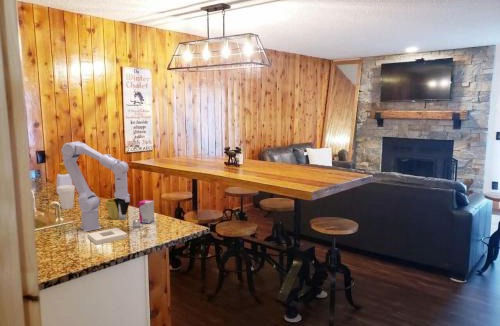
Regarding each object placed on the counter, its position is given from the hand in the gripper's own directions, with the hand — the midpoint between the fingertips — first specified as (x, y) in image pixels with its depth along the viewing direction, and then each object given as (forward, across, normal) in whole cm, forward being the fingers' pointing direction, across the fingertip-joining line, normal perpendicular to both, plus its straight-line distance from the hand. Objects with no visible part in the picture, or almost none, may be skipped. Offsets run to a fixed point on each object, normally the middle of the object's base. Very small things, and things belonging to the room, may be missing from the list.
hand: (122, 213), depth 189 cm
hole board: (+8, -7, +10) cm, 15 cm away
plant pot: (+8, +23, -6) cm, 25 cm away
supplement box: (+8, +4, -15) cm, 17 cm away
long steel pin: (+3, 0, 0) cm, 3 cm away
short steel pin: (+8, 0, -7) cm, 11 cm away
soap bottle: (+9, +103, 0) cm, 103 cm away
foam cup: (+9, +61, +9) cm, 62 cm away
